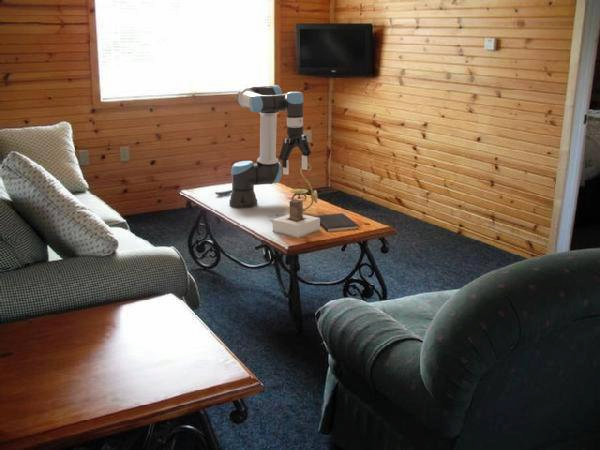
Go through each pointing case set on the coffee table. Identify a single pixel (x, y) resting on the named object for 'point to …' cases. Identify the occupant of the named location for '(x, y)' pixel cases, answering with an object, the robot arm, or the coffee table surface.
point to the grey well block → (296, 226)
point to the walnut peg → (296, 210)
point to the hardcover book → (336, 222)
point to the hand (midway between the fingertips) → (295, 171)
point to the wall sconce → (305, 191)
